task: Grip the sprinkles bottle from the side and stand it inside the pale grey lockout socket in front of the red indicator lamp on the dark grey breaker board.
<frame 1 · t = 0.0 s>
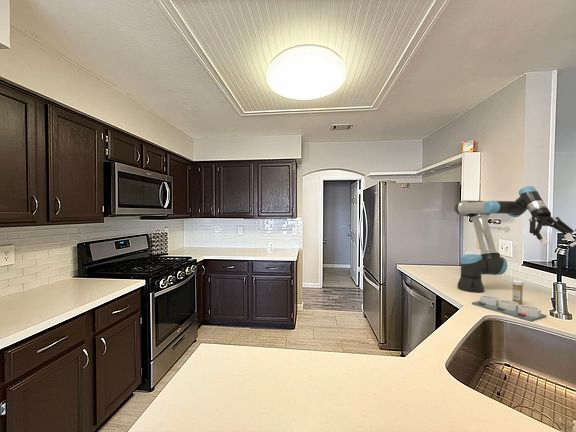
hand: (559, 245, 136), 36 cm above the countertop, tool tilted 35°, fingers open, 13 cm apart
breaker board: (506, 310, 145), on the countertop
sprinkles bottle: (517, 305, 155), on the countertop
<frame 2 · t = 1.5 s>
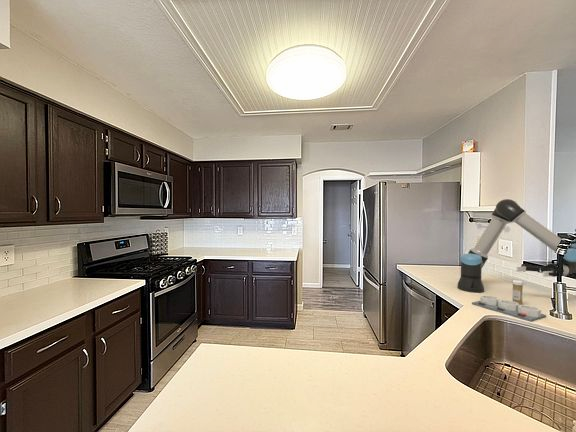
hand: (529, 271, 157), 18 cm above the countertop, tool horizontal, fingers open, 13 cm apart
nothing on the countertop moved.
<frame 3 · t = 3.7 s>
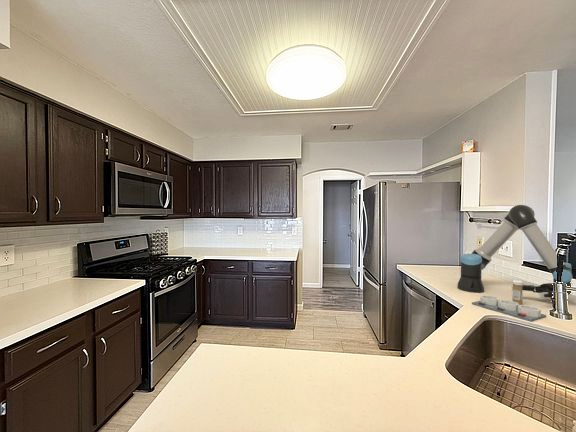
hand: (525, 292, 155), 7 cm above the countertop, tool horizontal, fingers open, 13 cm apart
nothing on the countertop moved.
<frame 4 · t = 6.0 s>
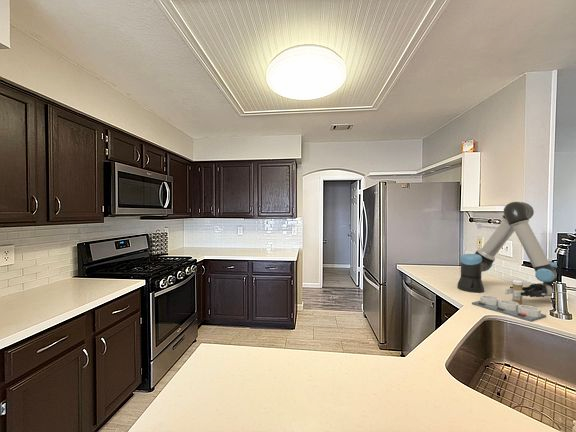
hand: (510, 292, 153), 7 cm above the countertop, tool horizontal, fingers closed on sprinkles bottle, 4 cm apart
sprinkles bottle: (517, 305, 155), on the countertop, touching gripper
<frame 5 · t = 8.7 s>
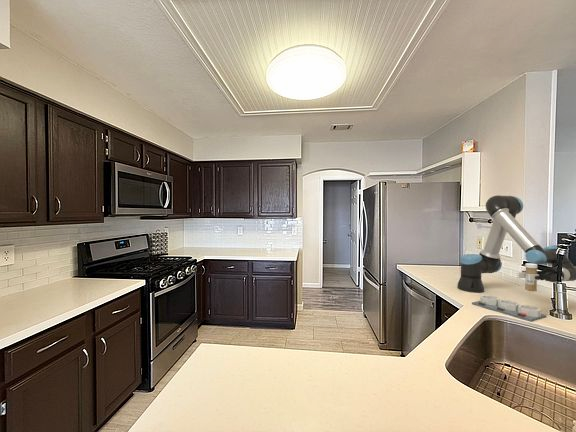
hand: (523, 276, 136), 20 cm above the countertop, tool horizontal, fingers closed on sprinkles bottle, 4 cm apart
sprinkles bottle: (530, 290, 138), point 12 cm above the countertop, touching gripper
when the fingers open (9 cm above the countertop, at t = 11.5 s): sprinkles bottle drops 1 cm, resting on breaker board.
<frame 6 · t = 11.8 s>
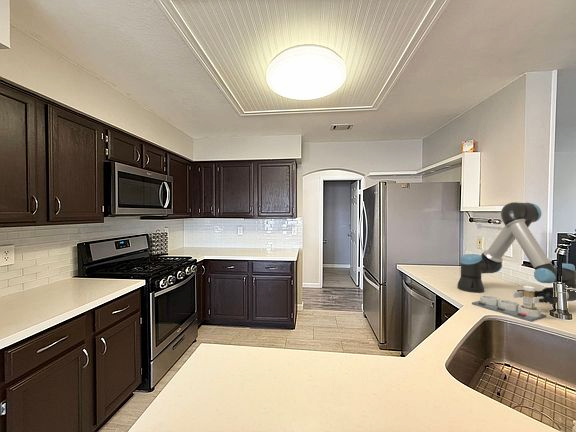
hand: (522, 297, 137), 9 cm above the countertop, tool horizontal, fingers open, 8 cm apart
sprinkles bottle: (528, 313, 138), point 1 cm above the countertop, touching breaker board
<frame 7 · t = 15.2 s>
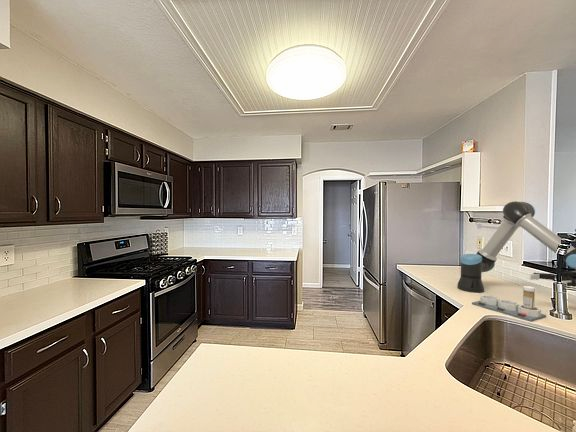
hand: (545, 280, 140), 17 cm above the countertop, tool horizontal, fingers open, 13 cm apart
nothing on the countertop moved.
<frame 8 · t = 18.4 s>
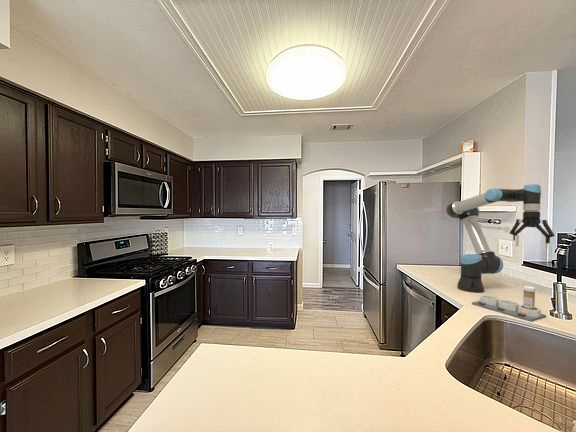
hand: (530, 247, 160), 32 cm above the countertop, tool pointing down, fingers open, 13 cm apart
nothing on the countertop moved.
at the end: sprinkles bottle 0.3 cm from the target spot on the breaker board, point 0.8 cm above the breaker board's base; sprinkles bottle tilted 0°; the gripper is holding nothing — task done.
